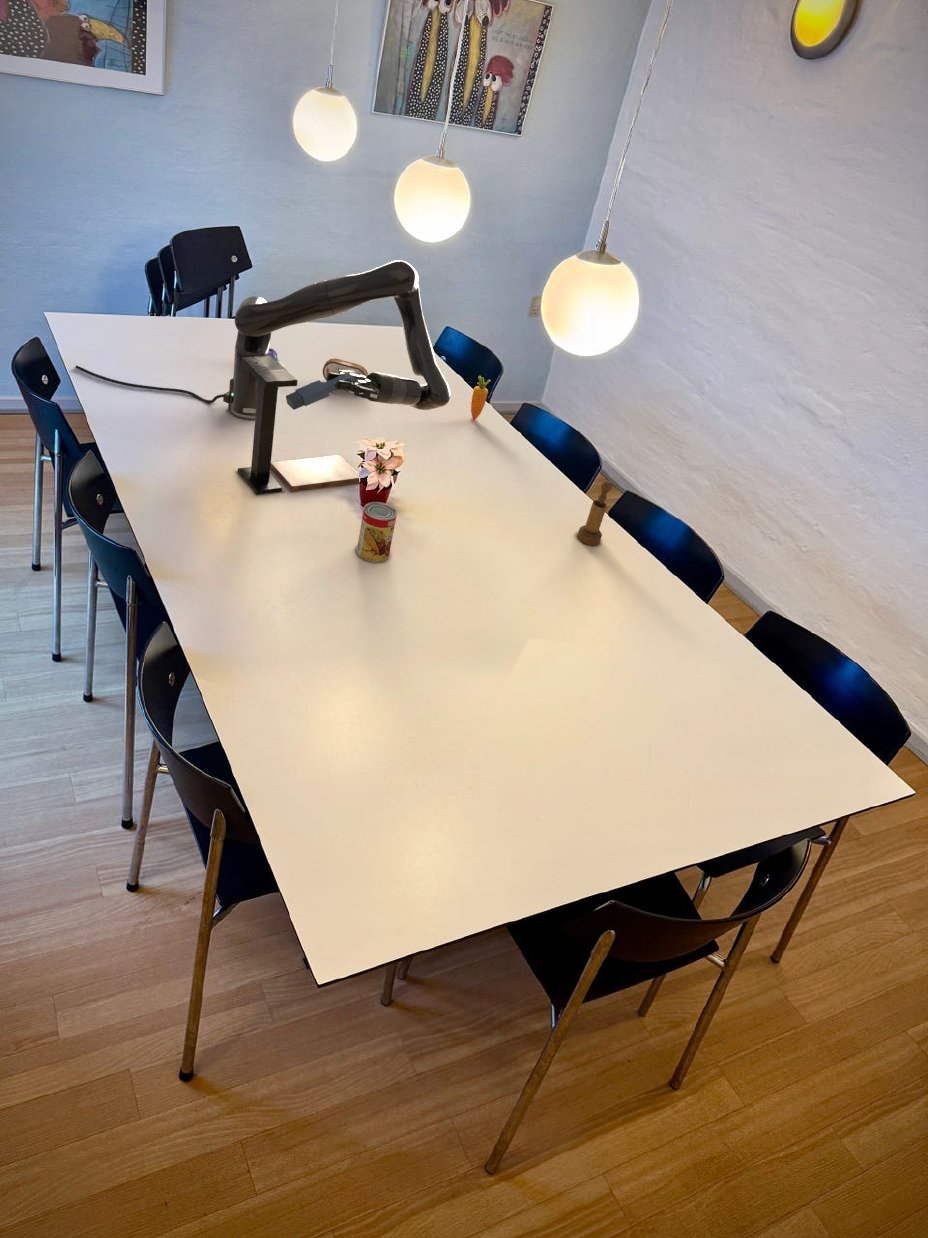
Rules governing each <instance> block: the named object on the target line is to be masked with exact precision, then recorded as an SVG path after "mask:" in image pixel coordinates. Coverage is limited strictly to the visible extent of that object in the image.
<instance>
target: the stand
mask: <svg viewBox="0 0 928 1238" xmlns="http://www.w3.org/2000/svg"><path fill="white" fill-rule="evenodd" d="M242 364H243V365H244V366H245V367H246V368H247V369H248V370H249V371H250V372H251V373H252V374H253V375H254V376H255V377H256V378H257V379H258V390H257V403H256V415H255V419H254V426H253V427H254V429H253V430H254V431H253V441H252V454H251V466H248V467H247V466H246V467H238V468H237V473H238V475H240V478H242V479H243V480H244V482H245V483H246V484H247V485H248V487H249V488H250V489H251V491H253V492H254V494H255V495H256V496H259V495H267V494H274V493H281V492H283V487H282V485H281V484H280V483H278V481H277V480H276V479H275V477H273V476H272V474H271V468H270V467H271V462H272V456H273V446H274V445H273V444H274V434H275V425H276V424H275V423H276V414H277V413H276V412H277V404H278V403H277V401H278V391H279V388H287V387H288V388H289V387H297V386H298V381H299V380H298V379H297V378H296V377H295V376H294V375H292V373H290V371H289V370H287V369H286V367H285V368H284V367H283V366H282V365H281V364H280V363H279V362H278V361H277V360H276V359H274V358H273V357H272V356H270V357H242Z"/></svg>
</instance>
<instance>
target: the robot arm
mask: <svg viewBox="0 0 928 1238" xmlns="http://www.w3.org/2000/svg"><path fill="white" fill-rule="evenodd" d="M419 280H420V279H419V274H418V271H417V270H416V268H414V266H412V264H410V263H409V262H407V261H405V260H398V259H397V260H393V261H391V262H388V263H386V264H383V265H381V266H379V267H376V268H373V269H371V270H367V271H365V272H362V273H361V272H360V273H357V274H356V273H355V274H349V275H343V276H338V277H333V278H329V279H325V280H321V281H318V282H314V283H311V284H308V285H305V286H303V287H301V288H300V289H298V290H296V291H294V292H292V293H290V294H288V295H286V296H284V297H282V298H279V299H276V300H271V301H267V300H266V299H264V298H263V297H261V296H256V295H255V296H253V295H252V296H249V297H247V298H244V299H243V301H241V303H240V304H239V306H238V308H237V310H236V312H235V316H234V326H235V328H236V330H237V335H236V340H235V343H234V344H235V345H234V356H233V373H232V378H231V379H230V380H229V387H228V388H229V390H228V391H227V392H225V393H222V394H217V395H215V396H214V397H213V398H212V399H205V398H202V397H201V396H200V395H198V394H196V393H194V392H192V391H189V390H186V389H180V388H172V387H161V386H152V385H144V384H136V383H130V382H126V381H121V380H116V379H112V378H110V377H106V376H103V375H100V374H98V373H95V372H93V371H91V370H88V369H86V368H84V367H81V366H79V365H75V367H74V368H75V369H77V370H79V371H81V372H84V373H86V374H88V375H90V376H92V377H95V378H98V379H101V380H103V381H107V382H109V383H112V384H113V383H114V384H118V385H121V386H126V387H131V388H137V389H146V390H153V391H154V390H155V391H162V392H163V391H164V392H173V393H174V392H177V393H181V394H186V395H190V396H192V397H194V398H196V399H197V400H199V401H201V402H204V403H207V404H212V403H213V404H214V403H215V402H216V401H217V400H218V399H221V398H223V399H222V401H223V403H226V404H227V407H228V408H227V411H229V412H230V413H231V414H232V415H234V416H236V417H237V418H240V419H244V420H245V419H246V420H255V415H256V403H257V390H258V379H257V378H256V377H255V376H254V375H253V374H252V373H251V372H250V371H249V370H248V369H247V368H246V367H245V366H244V365H243V364H242V357H268V353H269V348H271V341H272V340H271V339H272V333H273V332H275V331H278V330H280V329H281V330H282V329H284V328H287V327H290V326H294V325H299V324H305V323H309V322H313V321H317V320H321V319H327V318H331V317H334V316H337V315H340V314H344V313H346V312H349V311H351V310H353V309H356V308H358V307H359V306H361V305H364V304H366V303H369V302H372V301H376V300H382V299H388V298H393V301H394V302H395V304H396V307H397V310H398V313H399V316H400V320H401V324H402V329H403V337H404V342H405V347H406V352H407V354H408V359H409V363H410V367H411V370H412V373H413V374H414V375H415V376H416V377H422V378H423V379H424V381H425V384H420V383H419V382H418V381H417V380H416V379H411V378H408V377H407V378H406V377H401V376H399V375H394V374H389V373H383V372H377V371H373V372H371V373H368V376H367V377H366V376H363V375H356V374H354V372H355V371H353V370H339V372H338V373H331V372H329V373H328V375H327V378H326V380H327V381H329V380H331V379H334V378H336V377H338V376H341V375H343V374H345V373H348V374H349V375H350V376H352V377H353V378H354V379H355V380H356V383H355V382H351V384H350V382H348V381H342V380H337V382H336V385H335V388H336V389H339V390H338V391H346V392H347V391H348V393H350V394H353V396H355V397H358V398H362V399H366V400H368V401H370V402H373V403H380V404H387V405H401V406H409V407H411V408H414V409H415V410H416V409H417V410H421V411H430V410H434V409H439V408H442V407H445V406H446V405H447V404H449V402H450V399H451V389H450V386H449V384H448V383H449V382H448V381H447V379H446V378H445V376H444V374H443V372H442V371H441V369H440V367H439V365H438V363H437V359H436V355H435V351H434V348H433V344H432V341H431V337H430V334H429V331H428V328H427V324H426V319H425V317H424V312H423V307H422V302H421V294H420V293H421V292H420V283H419V282H420V281H419ZM326 380H325V381H326ZM327 381H326V382H327Z"/></svg>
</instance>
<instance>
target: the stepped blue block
mask: <svg viewBox="0 0 928 1238" xmlns="http://www.w3.org/2000/svg"><path fill="white" fill-rule="evenodd" d="M337 380H342V381H348V382H350V383H351V382H355V383H356V380H355V379H354V378H353V377H352V376H350V375H349V374H348V373H345V374H343V375H341V376H338V377H336V378H334V379H331V380H329V381H324V382H322V380H320V379H317V380H315V381H313V382H310V383H309V384H305V385H303V386H301V387H299V388H296V389H294V392H290V393H289V394H286V395H285V400H286V404H287V405H288V406H289V407H290V408H291V409H292V410H294V411H295V410H297V409H300V408H303V407H307V406H309V405H310V406H311V405H312V404H314V403H316V402H319V401H321V400H323V399H326V398H329V397H330V394H332V393H334V392H337V391H340V390H339V389H336V388H335V385H336V382H337Z"/></svg>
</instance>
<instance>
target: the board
mask: <svg viewBox="0 0 928 1238" xmlns="http://www.w3.org/2000/svg"><path fill="white" fill-rule="evenodd" d="M270 470H272V472H274V473H275V475H276V476H277V477H278V478H279V479H280V480H281V482H283V484H284V485H285V486H286V487H287V488H288V489H289V491H290V492H298V491H307V490H315V489H323V488H331V487H337V486H345V485H354V484H360V483H359V475H360V473H358V471H356V470H355V468H353V466H351V465H350V464H349V462H347V461H346V460H345V459H344V458H343V456H341V455H340V454H337V455H336V454H335V455H327V456H319V457H308V458H298V459H289V460H281V461H271V467H270Z"/></svg>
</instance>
